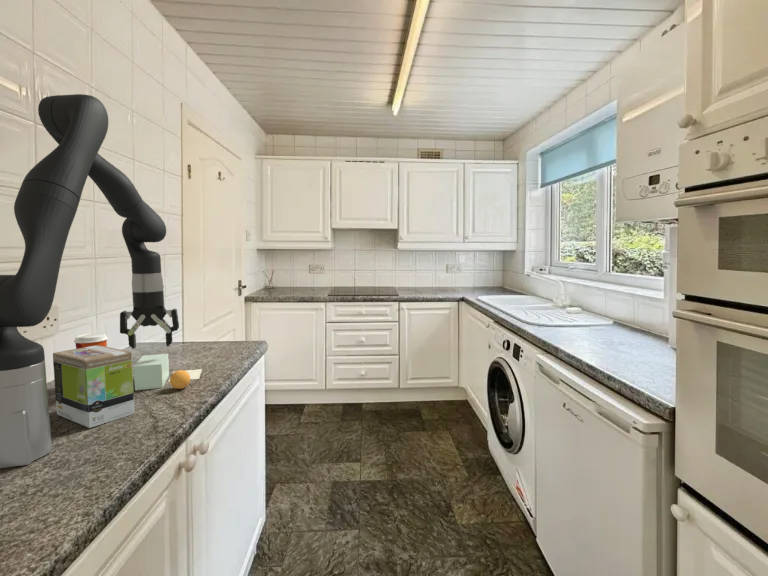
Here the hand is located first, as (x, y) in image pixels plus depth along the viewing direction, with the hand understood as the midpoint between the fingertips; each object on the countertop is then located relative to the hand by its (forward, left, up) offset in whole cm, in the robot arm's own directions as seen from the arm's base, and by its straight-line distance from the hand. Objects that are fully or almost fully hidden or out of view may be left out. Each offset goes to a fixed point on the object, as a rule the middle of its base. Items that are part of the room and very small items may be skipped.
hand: (151, 346), depth 118 cm
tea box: (-21, +8, -11) cm, 25 cm away
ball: (-8, -8, -8) cm, 14 cm away
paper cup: (+3, +15, -10) cm, 18 cm away
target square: (+4, -8, -10) cm, 14 cm away
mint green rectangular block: (0, 0, -10) cm, 10 cm away
